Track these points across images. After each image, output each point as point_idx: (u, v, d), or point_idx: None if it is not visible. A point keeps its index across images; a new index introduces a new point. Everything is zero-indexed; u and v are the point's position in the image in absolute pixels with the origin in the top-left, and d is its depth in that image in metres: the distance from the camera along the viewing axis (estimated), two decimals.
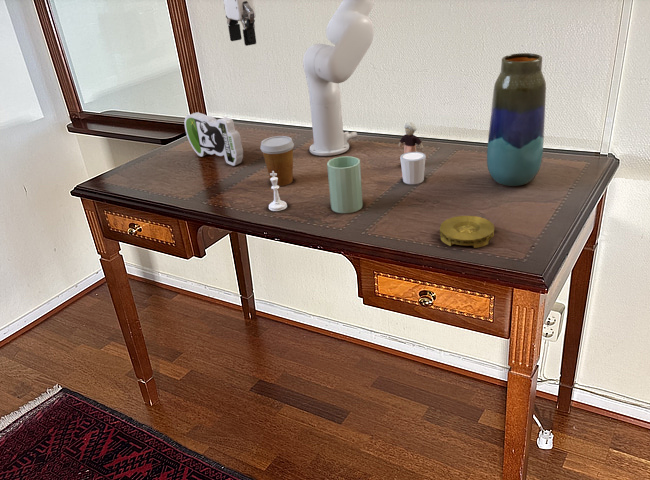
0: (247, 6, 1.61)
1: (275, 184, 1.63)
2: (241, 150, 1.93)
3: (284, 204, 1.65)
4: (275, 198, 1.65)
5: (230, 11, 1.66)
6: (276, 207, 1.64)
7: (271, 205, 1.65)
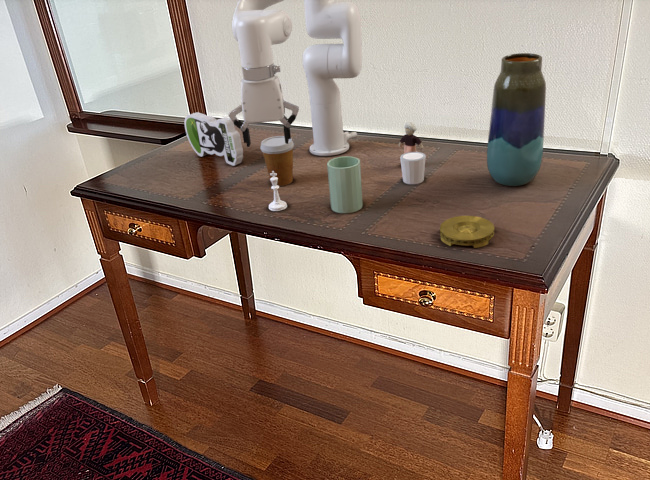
0: (289, 103, 1.52)
1: (275, 184, 1.63)
2: (241, 150, 1.93)
3: (284, 204, 1.65)
4: (275, 198, 1.65)
5: (262, 114, 1.52)
6: (276, 207, 1.64)
7: (271, 205, 1.65)
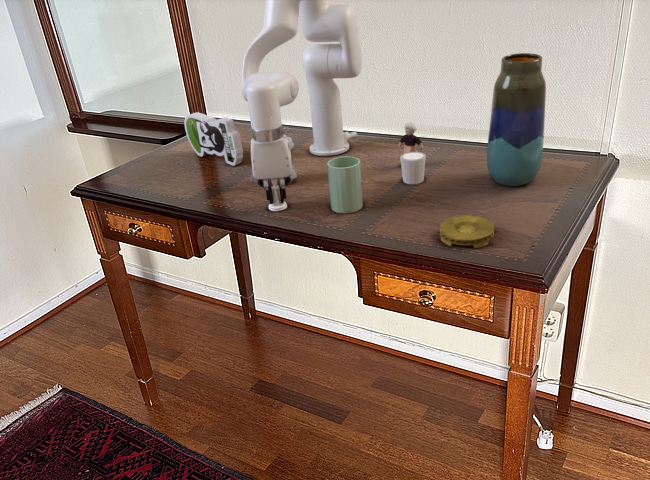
0: (293, 167, 1.61)
1: (275, 184, 1.63)
2: (241, 150, 1.93)
3: (284, 204, 1.65)
4: (275, 198, 1.65)
5: (271, 171, 1.59)
6: (276, 207, 1.64)
7: (271, 205, 1.65)
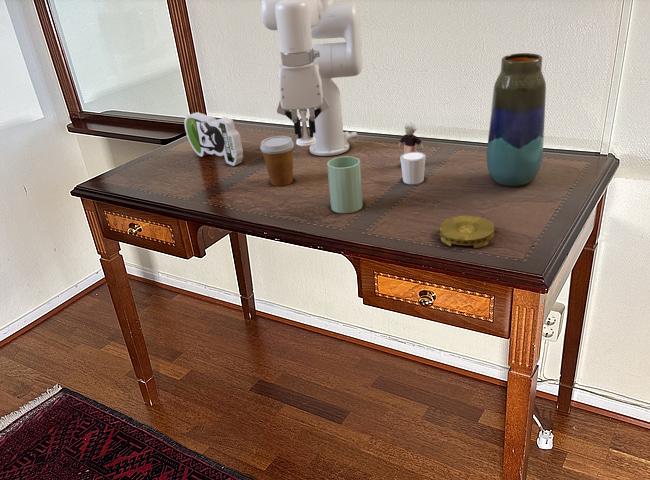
0: (323, 97, 1.49)
1: (304, 116, 1.51)
2: (241, 150, 1.93)
3: (313, 139, 1.54)
4: (303, 132, 1.53)
5: (300, 100, 1.48)
6: (304, 141, 1.53)
7: (299, 140, 1.54)
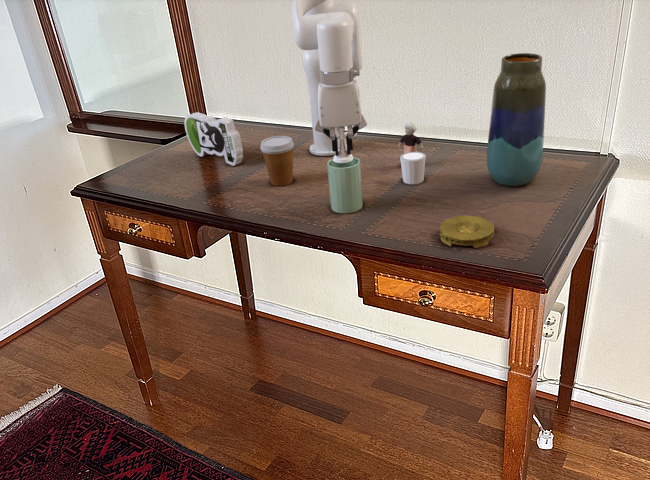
0: None
1: (342, 134, 1.52)
2: (241, 150, 1.93)
3: (350, 156, 1.55)
4: (341, 149, 1.54)
5: (339, 118, 1.48)
6: (342, 159, 1.54)
7: (336, 157, 1.55)
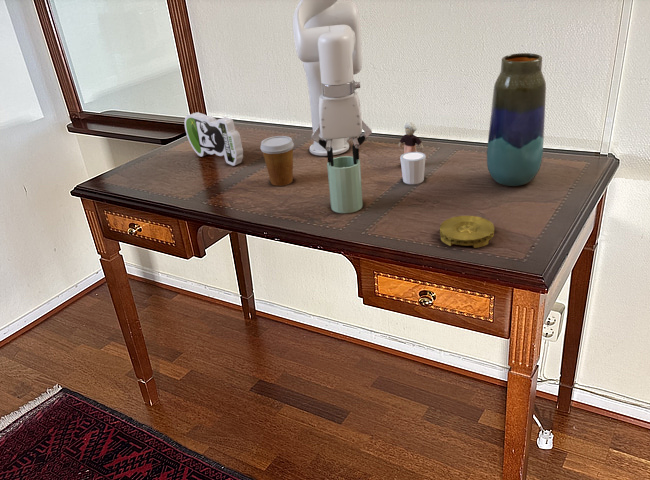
0: (365, 124, 1.51)
1: None
2: (241, 150, 1.93)
3: None
4: None
5: (340, 130, 1.50)
6: None
7: None
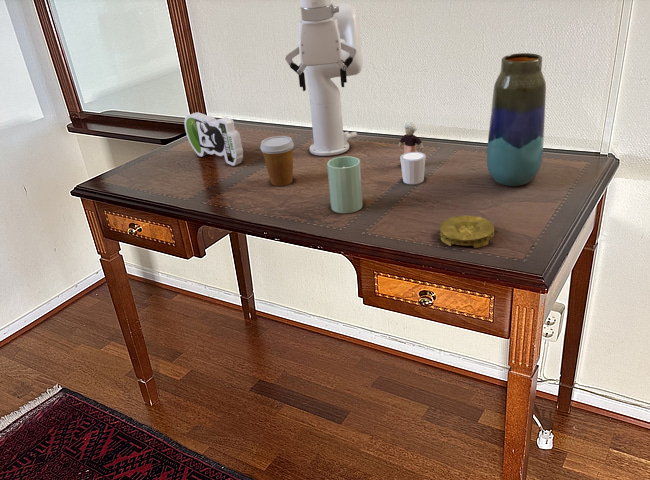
0: (346, 45, 1.52)
1: None
2: (241, 150, 1.93)
3: None
4: None
5: (320, 56, 1.51)
6: None
7: None
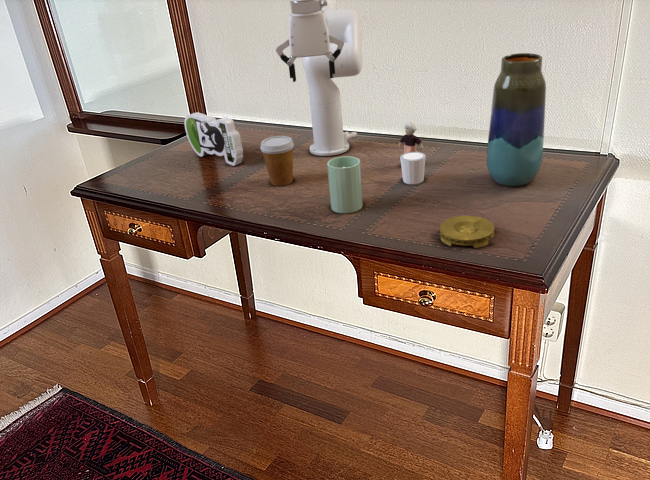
0: (334, 37, 1.58)
1: None
2: (241, 150, 1.93)
3: None
4: None
5: (309, 48, 1.57)
6: None
7: None
